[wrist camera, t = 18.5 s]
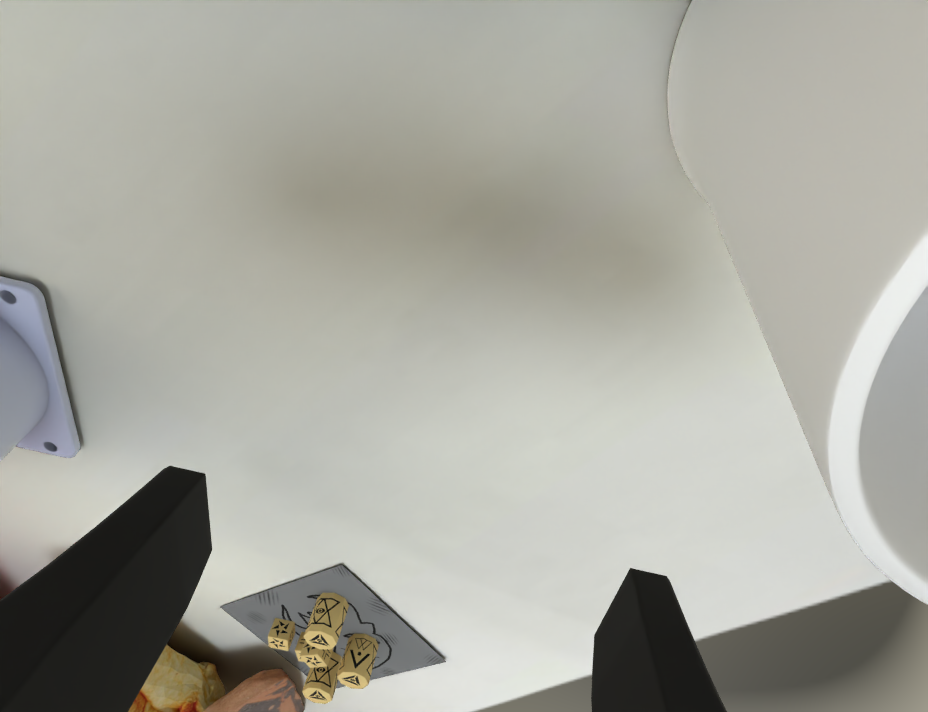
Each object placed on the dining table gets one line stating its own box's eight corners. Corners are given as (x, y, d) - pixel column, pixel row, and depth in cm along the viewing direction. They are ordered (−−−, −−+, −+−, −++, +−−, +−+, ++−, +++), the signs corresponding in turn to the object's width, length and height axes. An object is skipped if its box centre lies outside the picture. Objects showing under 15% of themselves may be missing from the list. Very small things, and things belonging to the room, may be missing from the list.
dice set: (334, 588, 30) (321, 627, 29) (402, 649, 32) (392, 688, 31) (257, 613, 32) (241, 650, 31) (325, 669, 34) (313, 706, 33)
